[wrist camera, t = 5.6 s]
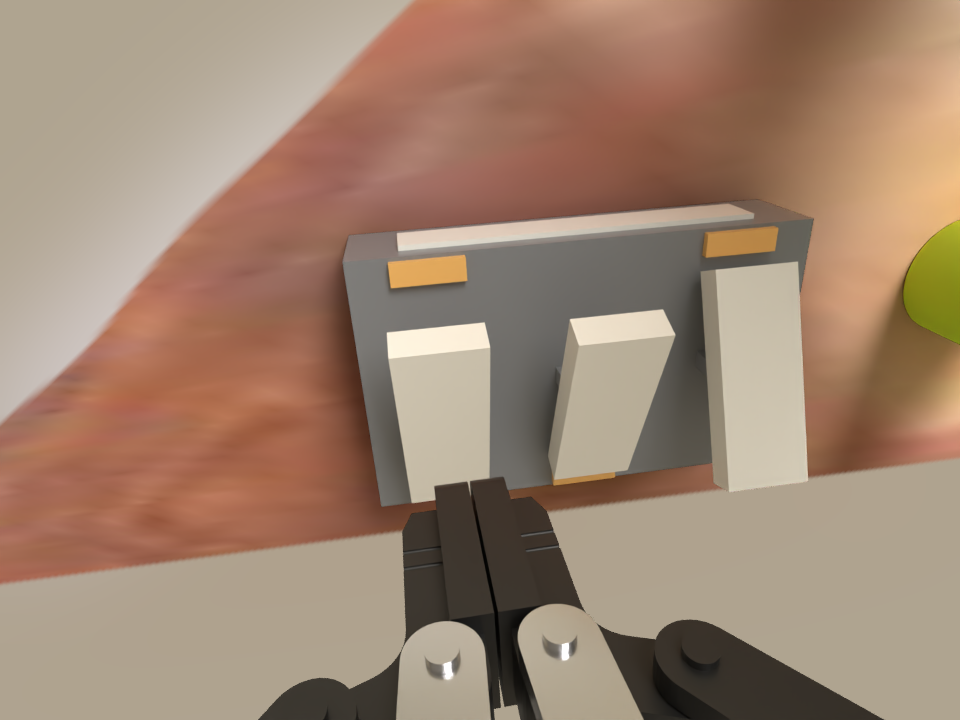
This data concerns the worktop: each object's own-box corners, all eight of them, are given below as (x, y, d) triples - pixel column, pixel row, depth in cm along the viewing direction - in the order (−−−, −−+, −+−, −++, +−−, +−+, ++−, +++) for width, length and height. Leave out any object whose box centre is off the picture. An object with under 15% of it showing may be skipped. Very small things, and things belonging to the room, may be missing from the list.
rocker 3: (778, 263, 24) (797, 261, 23) (789, 472, 25) (808, 481, 23) (700, 271, 23) (715, 269, 22) (713, 483, 24) (729, 492, 23)
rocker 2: (662, 309, 20) (675, 335, 20) (619, 446, 27) (627, 470, 26) (569, 319, 20) (578, 345, 19) (547, 455, 26) (554, 479, 26)
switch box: (758, 194, 27) (838, 221, 22) (727, 412, 32) (788, 473, 27) (348, 230, 25) (338, 267, 20) (382, 455, 30) (381, 528, 25)
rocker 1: (484, 322, 20) (490, 347, 19) (484, 468, 26) (489, 493, 25) (386, 332, 20) (388, 358, 19) (410, 478, 26) (411, 503, 25)
